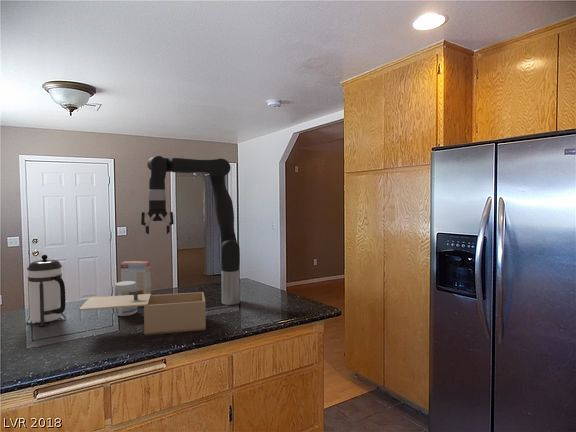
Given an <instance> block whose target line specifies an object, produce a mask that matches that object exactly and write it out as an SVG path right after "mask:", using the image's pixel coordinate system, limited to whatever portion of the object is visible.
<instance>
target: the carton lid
mask: <svg viewBox="0 0 576 432" xmlns="http://www.w3.org/2000/svg"><path fill="white" fill-rule="evenodd" d="M151 295H152V293H151V294H142V291H129V295H123V296H115V295H111V296H110V295H109V296H97V297H96V296H95V297H94V296H93V297H89V298H88V299H87V300H86V301H85V302H84V303H83V304H82V305H81V306H80V308H79V309H78V310H79V311H80V312H81V311H89V310H90V311H91V310H104V309H105V310H106V309H115V308H121V307H135V306H137V307H144V306H147V305H148V302H149V299H150V296H151Z"/></svg>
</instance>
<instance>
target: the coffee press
mask: <svg viewBox="0 0 576 432" xmlns="http://www.w3.org/2000/svg"><path fill="white" fill-rule="evenodd" d="M62 268H63V265H62V264H61V262H60V261H58V260H56V259H48V254H43V255H42V256H41V259H39V260H35V261H32V262H30V263H29V264H28V265H27V268H26V270H27V273H28V274H27V281H28V282H27V284H28V285H27V287H28V288H27V290H28V292H27V293H28V294H27V295H28V318H27V320H26V321H25V323H26V324H27V325H30V324H31V323H39V327H40V328H45V324H46V323H48V322H53V321H56V320H61V321H63V322H64V321H65V320H67V317H66V316H65V315H64V312H65V310H66V286H65V282H64V279H63V274H62ZM62 317H63V318H64V319H63V318H62ZM28 320H30V322H28Z"/></svg>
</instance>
